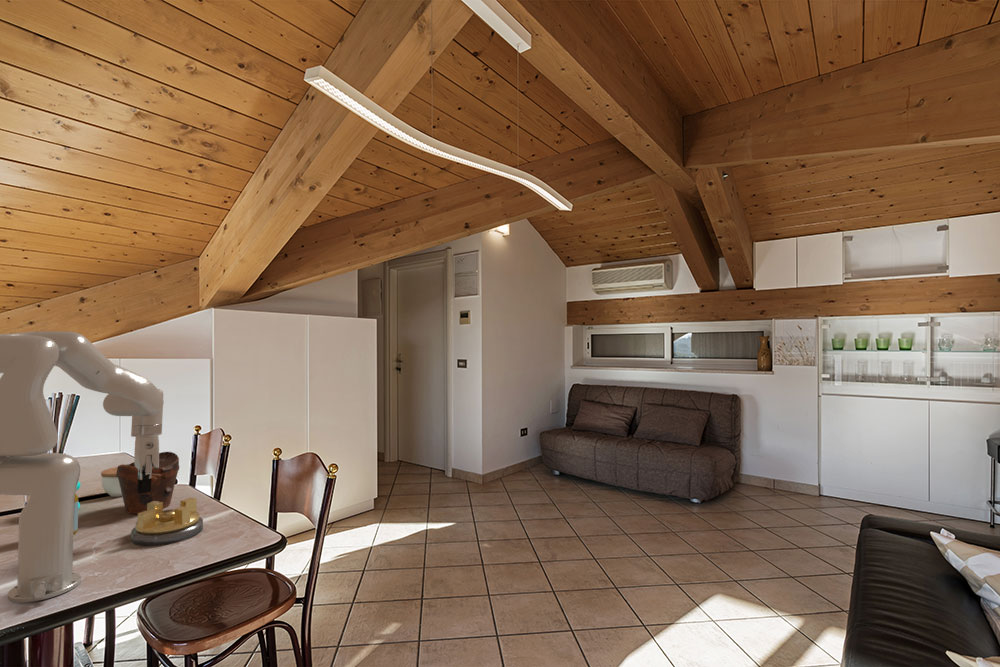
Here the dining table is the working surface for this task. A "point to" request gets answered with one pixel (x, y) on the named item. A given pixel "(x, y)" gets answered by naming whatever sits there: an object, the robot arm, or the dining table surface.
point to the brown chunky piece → (160, 483)
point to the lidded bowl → (111, 482)
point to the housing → (166, 536)
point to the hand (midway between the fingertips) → (143, 492)
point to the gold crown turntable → (167, 518)
